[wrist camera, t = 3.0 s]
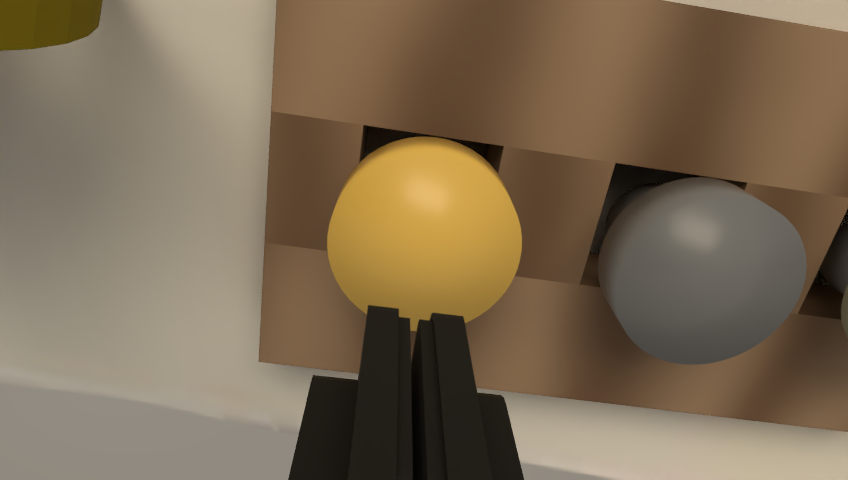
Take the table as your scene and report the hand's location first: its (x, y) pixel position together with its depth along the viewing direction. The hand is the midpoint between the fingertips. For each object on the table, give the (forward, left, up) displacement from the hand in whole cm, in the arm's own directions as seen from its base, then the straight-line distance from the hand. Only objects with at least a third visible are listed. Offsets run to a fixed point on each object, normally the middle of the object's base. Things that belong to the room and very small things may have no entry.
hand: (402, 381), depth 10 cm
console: (-7, -5, -12) cm, 15 cm away
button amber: (0, 0, -10) cm, 10 cm away
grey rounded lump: (-7, -5, -10) cm, 13 cm away
